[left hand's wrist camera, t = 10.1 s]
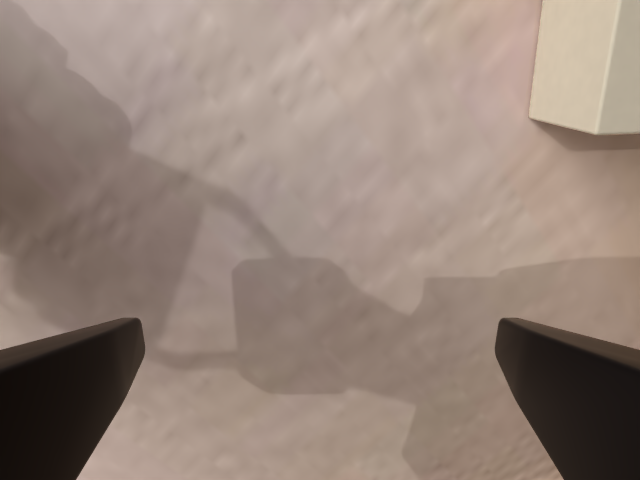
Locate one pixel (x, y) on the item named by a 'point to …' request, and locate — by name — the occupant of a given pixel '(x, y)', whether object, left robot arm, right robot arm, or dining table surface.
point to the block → (588, 66)
